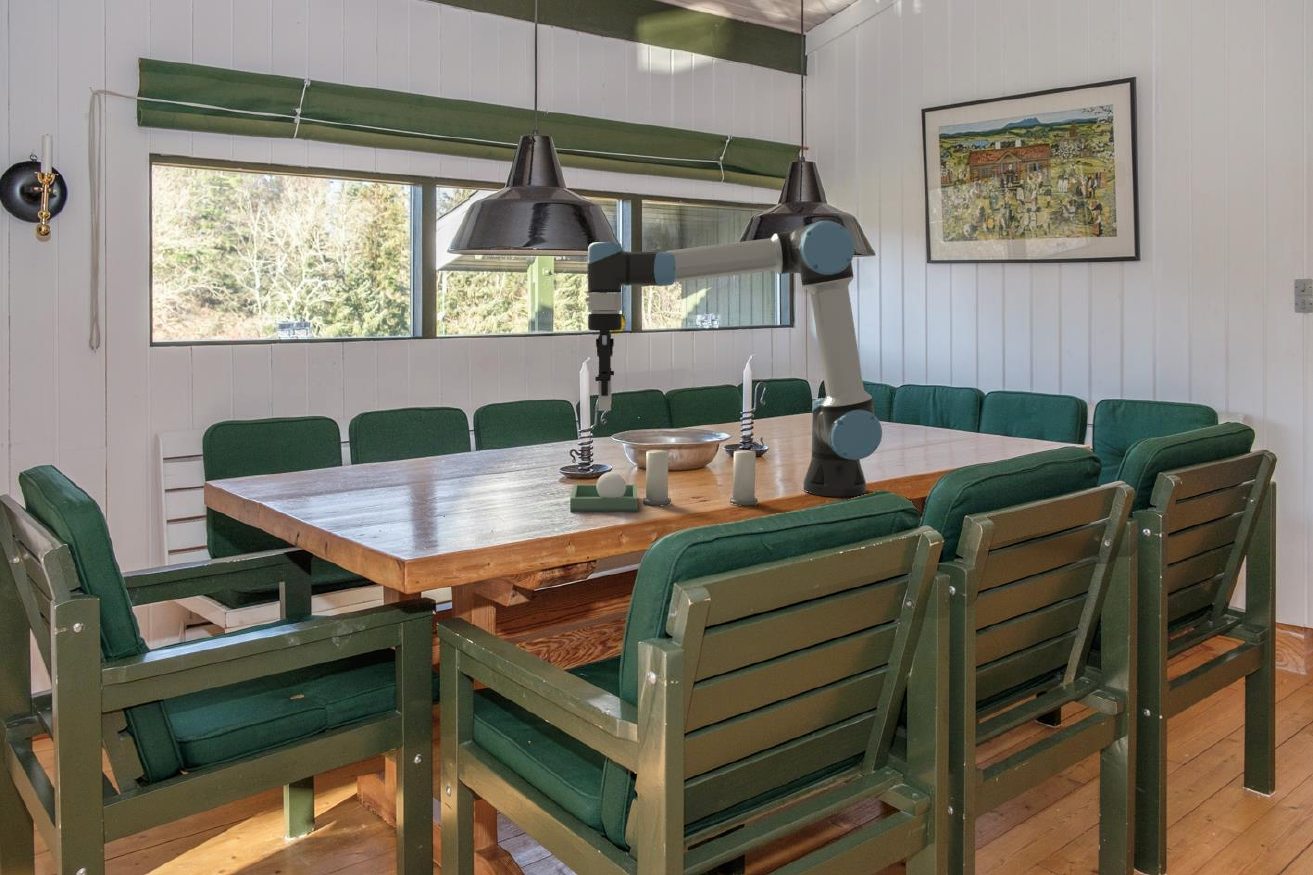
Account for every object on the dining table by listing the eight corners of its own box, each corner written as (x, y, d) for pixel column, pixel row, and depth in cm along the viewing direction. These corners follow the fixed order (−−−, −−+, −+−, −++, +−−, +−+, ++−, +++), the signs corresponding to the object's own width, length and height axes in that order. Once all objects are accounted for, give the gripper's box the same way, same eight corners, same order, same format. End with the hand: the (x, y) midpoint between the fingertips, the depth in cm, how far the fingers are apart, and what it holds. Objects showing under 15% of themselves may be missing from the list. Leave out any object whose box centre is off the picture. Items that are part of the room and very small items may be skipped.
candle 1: (670, 500, 251) (670, 449, 250) (671, 506, 245) (671, 453, 243) (642, 500, 251) (643, 449, 249) (643, 506, 245) (643, 453, 243)
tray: (636, 497, 255) (636, 484, 255) (637, 511, 238) (637, 498, 238) (573, 497, 255) (573, 484, 254) (570, 511, 238) (570, 498, 238)
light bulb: (603, 475, 249) (613, 462, 239) (623, 495, 249) (635, 483, 239) (583, 494, 246) (593, 482, 236) (604, 514, 246) (615, 503, 236)
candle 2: (755, 500, 252) (756, 450, 250) (759, 506, 245) (760, 454, 244) (728, 500, 252) (729, 449, 250) (731, 506, 245) (732, 454, 244)
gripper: (589, 311, 253) (590, 401, 256) (586, 313, 228) (586, 413, 231) (621, 311, 253) (621, 401, 256) (621, 313, 228) (621, 413, 231)
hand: (605, 407), depth 243 cm, fingers open, 13 cm apart
